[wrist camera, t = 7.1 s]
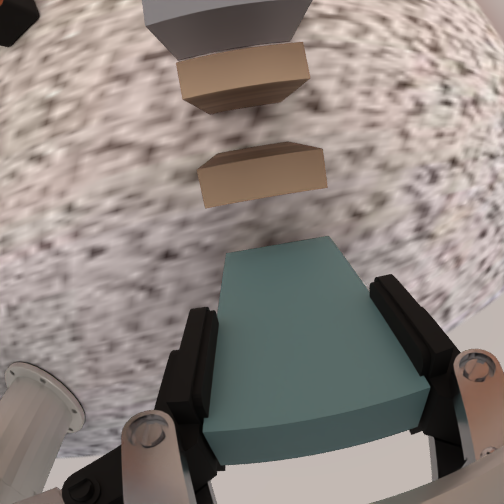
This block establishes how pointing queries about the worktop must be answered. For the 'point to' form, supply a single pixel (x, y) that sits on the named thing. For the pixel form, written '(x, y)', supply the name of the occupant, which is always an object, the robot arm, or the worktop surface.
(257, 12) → the block
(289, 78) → the domino
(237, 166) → the domino
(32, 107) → the worktop surface
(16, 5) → the battery
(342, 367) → the domino
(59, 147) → the worktop surface
